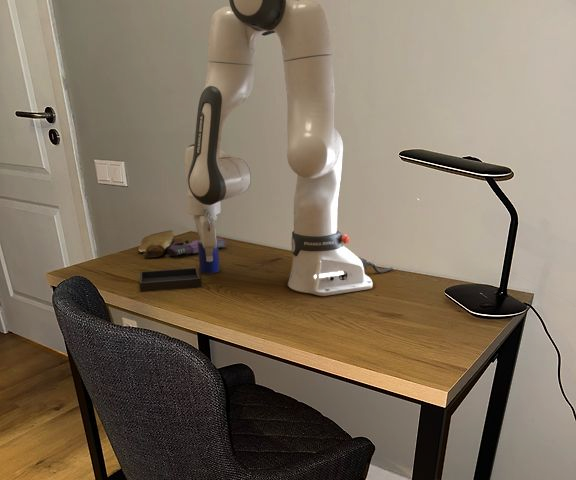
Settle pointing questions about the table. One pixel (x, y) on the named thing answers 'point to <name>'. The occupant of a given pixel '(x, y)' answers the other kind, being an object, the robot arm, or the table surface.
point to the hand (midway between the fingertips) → (207, 256)
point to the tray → (169, 279)
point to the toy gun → (188, 247)
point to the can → (208, 266)
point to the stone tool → (156, 243)
